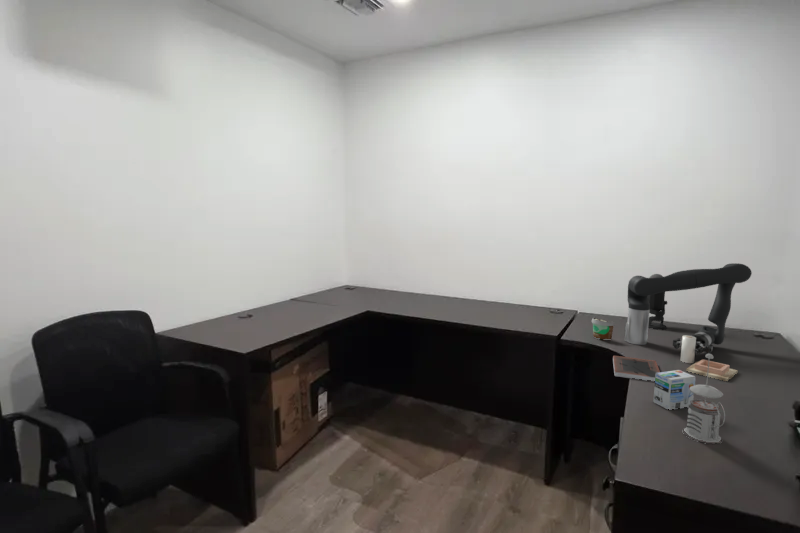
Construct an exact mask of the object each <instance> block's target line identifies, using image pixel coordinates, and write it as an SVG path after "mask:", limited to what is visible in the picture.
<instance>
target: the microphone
mask: <svg viewBox="0 0 800 533" xmlns="http://www.w3.org/2000/svg"><path fill="white" fill-rule="evenodd" d="M658 277H664V276H663V275H662V274H659V273H654V274H652V275H650V276H649V277H648V278H658ZM665 295H666V292H661V293H657V294H652V295H648V302H649V304H650V311H649V315H652V316H649V325H648V329H650V328H653V329H652V330H658V329H662V330H666V329H667V325H666V324H664V319H665V318H664V315H665V314H666V308H665V307H666V305H668V301H667V300H665V297H666V296H665ZM654 321H655V322H654Z"/></svg>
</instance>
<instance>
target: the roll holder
mask: <svg viewBox="0 0 800 533" xmlns="http://www.w3.org/2000/svg"><path fill="white" fill-rule="evenodd" d="M708 361H709V359H703V358H702V359H701V360H697V361H695V362H694V363H692V364H691V365H690V366H688V367H687V368H686V369H685V372H686V371H688V372H687V373H690V372H692V373H691V374H694V373H696V374H695V375H698V374H699V376H702V375H703V377H706V376H707V372H708V378H710V377H711V378H710V379H714V378H715V380H718V379H719V381H722V380H723V381H722V382H726V381H727V382H729V381H730V380H732V378H733V377H734V375H735V374H736V375H737V374H738V372H739V371H738V370H737V369H734V368H730V365H729V364H726V363H722V362H716V361H712V360H710V361H709V371H708ZM736 375H735V376H736ZM729 379H730V380H729ZM728 380H729V381H728Z"/></svg>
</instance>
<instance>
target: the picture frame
mask: <svg viewBox="0 0 800 533" xmlns="http://www.w3.org/2000/svg"><path fill="white" fill-rule="evenodd" d="M612 364H613V373H614V377H620V378H626V379H632V378H635V379H634V380H639V379H642V380H641V381H647V380H651V381H650V382H654V381H655V376H656V373H659V372H660V371H661V370H660V368H659V366H658V364H657V360H652V359H643V358H637V357H630V356H629V357H628V356H621V355H620V356H619V355H613V356H612Z"/></svg>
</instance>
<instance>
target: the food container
mask: <svg viewBox="0 0 800 533" xmlns="http://www.w3.org/2000/svg"><path fill="white" fill-rule="evenodd" d="M591 323H592V332H593V334H592V337H593V336H594V337H596V338H600V339H611V340H612V339H613V338H612V336H613V332H614V331H613V330H614V327H615V326H616V324H615V321H608V320H605V319H600V318H597V317H596V316H593V317H592V319H591ZM594 337H593V338H594Z"/></svg>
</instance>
